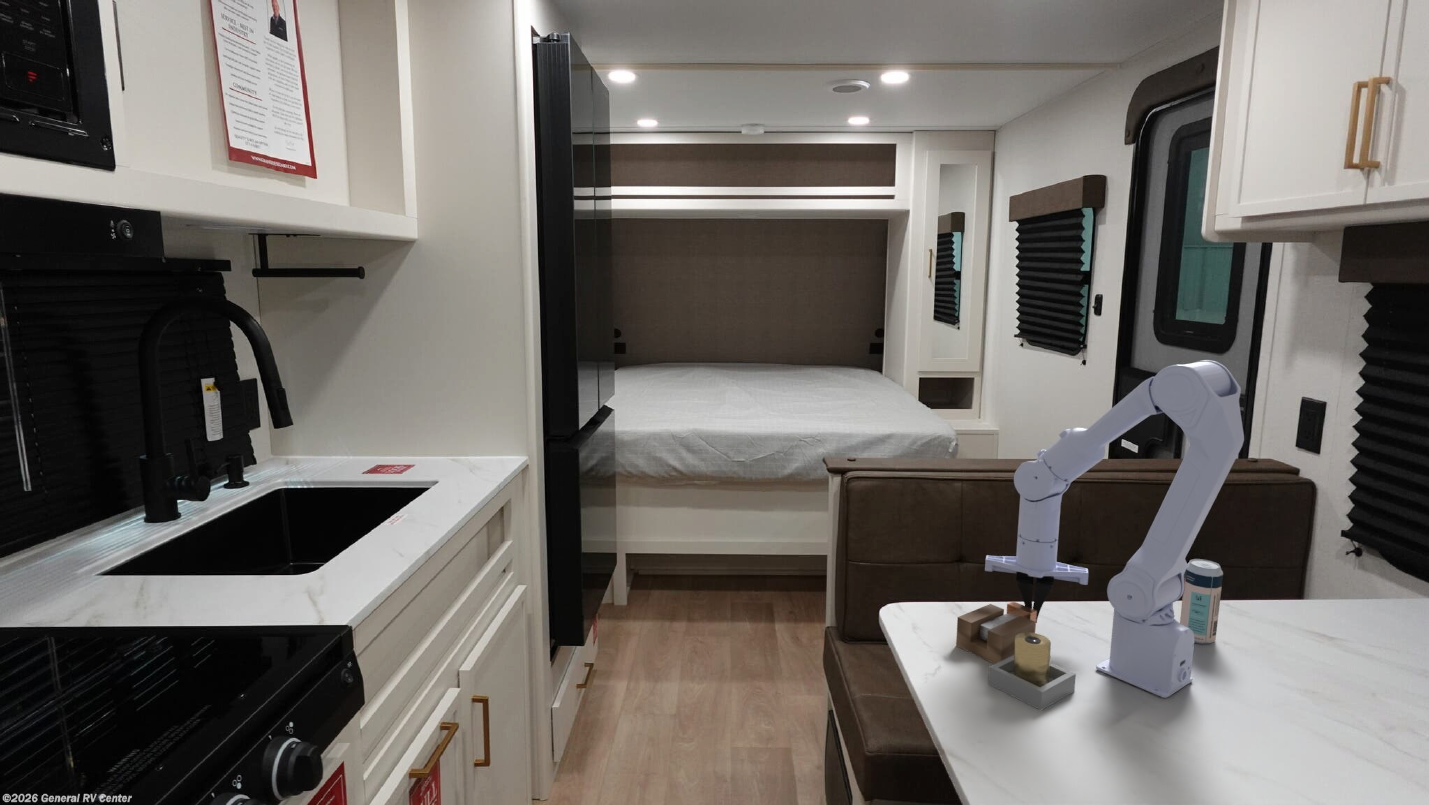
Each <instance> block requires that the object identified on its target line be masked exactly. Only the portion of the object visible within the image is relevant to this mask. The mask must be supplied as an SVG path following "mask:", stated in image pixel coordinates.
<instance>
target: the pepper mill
mask: <svg viewBox="0 0 1429 805" xmlns="http://www.w3.org/2000/svg"><path fill="white" fill-rule="evenodd" d="M1051 644H1052V642H1051V640H1050V639H1049V638H1048V637H1046V636H1045V635H1042V634H1040V633H1036V632H1035V633H1029V632H1025V633H1020V634H1017V635H1016V636H1015V653H1014V675H1015V676H1017V677H1019V678H1021V679H1023V680H1025V681H1027V682H1030V683H1032V684H1034V685H1036V686H1038V687H1042V686H1044V685H1046V684H1048V683H1049V669H1050V663H1051V647H1052V646H1051Z"/></svg>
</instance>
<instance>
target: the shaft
mask: <svg viewBox="0 0 1429 805" xmlns="http://www.w3.org/2000/svg"><path fill="white" fill-rule="evenodd" d="M1019 616H1022V617H1025V618H1027V619H1030V620H1032V621H1035V632H1034V633H1036V628H1037V627H1036V626H1037V623H1036V616H1037V610H1034V609H1033V607H1032V608H1029V607H1026V606H1025V604H1022V603H1018V602H1016V601H1012V602H1009V603H1007V604H1006V613H1004V615H1002V616H1000V617H998V618H995V619H993V620H991V621H988V622H986V623H984V624H981V625H980V638H982V639H984V640H986V641H987V635H988V630H989V629H992V628H994V627H996V626H998V625H1001V624H1003V623H1005V622H1008V621H1010V620H1012V619H1015V618H1017V617H1019Z"/></svg>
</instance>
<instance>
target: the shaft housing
mask: <svg viewBox="0 0 1429 805" xmlns="http://www.w3.org/2000/svg"><path fill="white" fill-rule="evenodd" d="M1002 615H1005V609H1004V608H1002V607H999V606H997V605H994V604H992V603H988V604H987V605H984V606H982V607H979V608H977V609H974V610H971V611H969V612H966V613H965V614H961V615H959V616H957V623H956V624H957V626H956V640H955V641H956V642H955V646H956V647H958V648H960V649H963V650H964V651H966V652H969V653H970V654H973V655H975V656H977V657H979V658H981V659H983V660H985V661H987V662H990V663H992V664H993V665H994V664H996V663H998V662H1000V661H1002V660H1005V659H1007V658H1009V657H1011V656H1013V655H1014V653H1015V636H1016V635H1017V634H1020V633H1025V632H1029V633H1034V632H1035V633H1036V630H1035V621H1032V620H1030V619H1027V618H1025V617H1022V616H1019V617H1017V618H1015V619H1012V620H1010V621H1008V622H1005V623H1003V624H1001V625H998V626H996V627H994V628H992V629H989V630H988V635H987V641H986V640H984V639H982V638H980V625H981V624H984V623H986V622H988V621H991V620H993V619H995V618H998V617H1000V616H1002Z"/></svg>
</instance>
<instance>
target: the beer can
mask: <svg viewBox="0 0 1429 805" xmlns="http://www.w3.org/2000/svg"><path fill="white" fill-rule="evenodd" d="M1187 564H1188V567H1187V569H1186V571H1185V573H1184V592H1183V594H1182V598H1181V610H1180V618H1179V623H1180V624H1182V625H1183V626H1185V627H1187V628H1189V629H1191V630H1192V631H1193V633H1194V644H1201V645H1202V644H1204V645H1206V644H1211V643H1213V642H1215V641H1216V639H1217V630H1218V621H1219V613H1220V604H1221V595H1222V586H1223V577H1224V571H1223V570H1222V568H1221V565H1220V564H1219V563H1217V562H1215V561H1212V560H1208V559H1203V558H1202V559H1200V558H1194V559H1190V560H1189V562H1188V563H1187Z"/></svg>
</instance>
